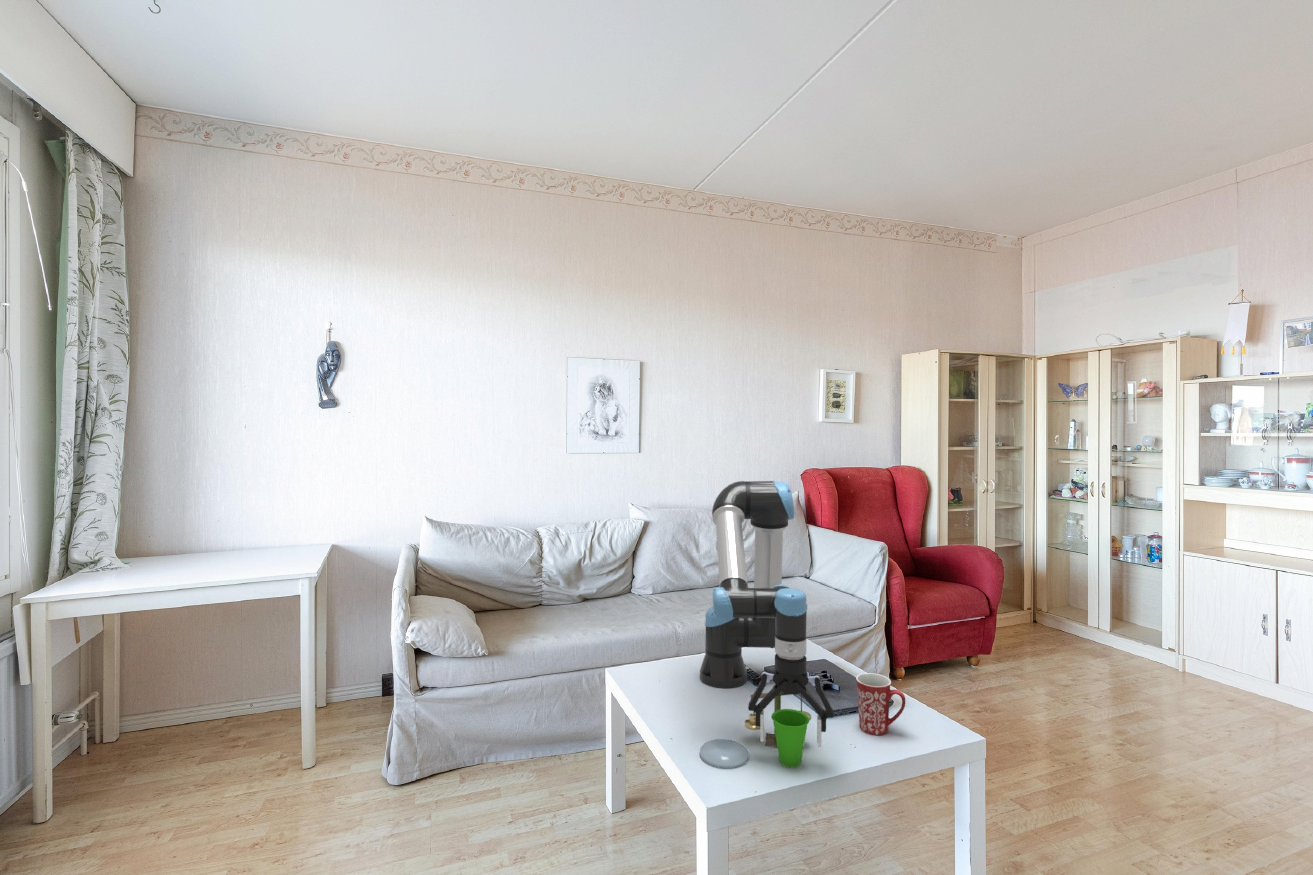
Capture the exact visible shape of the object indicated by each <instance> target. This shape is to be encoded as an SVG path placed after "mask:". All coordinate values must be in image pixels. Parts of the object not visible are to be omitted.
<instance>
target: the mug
mask: <svg viewBox="0 0 1313 875" xmlns="http://www.w3.org/2000/svg"><path fill="white" fill-rule="evenodd" d="M855 680H856V690H857V707H858V709H857V710H858V722H859V725H858V726H859V729H860V730H861V731H862V732H864V733H866V734H869V735H871V736H883V735H886V734H887V733H889V732H888V731H889V726H890V725H892V724H893V723H894V722H895V721H896V720H897V719H898V718H899V717H900V716H901V715H902V713H903V712H904V710H905V707H906V697H905V694H904V693H903V692H902V691H901V690H900V689H891V685H892V681H891V678H889V677H887V676H885V675H883V674H879V673H875V672H874V673H873V672H868V673H867V672H864V673H859V674H858V675H856V677H855ZM894 695H898V696H899V697H900V699H901V707H900V708H899V710H898V711H897V712H896V714H894V715H893V716H892V717H891V718H890V717H889V716H890V700H891V699H892V697H893V696H894Z"/></svg>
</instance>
